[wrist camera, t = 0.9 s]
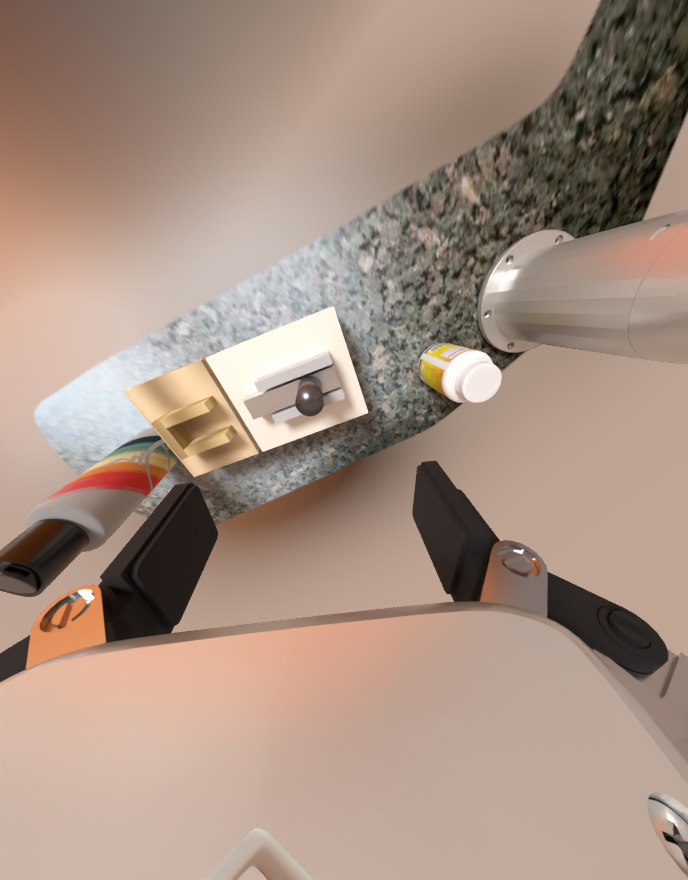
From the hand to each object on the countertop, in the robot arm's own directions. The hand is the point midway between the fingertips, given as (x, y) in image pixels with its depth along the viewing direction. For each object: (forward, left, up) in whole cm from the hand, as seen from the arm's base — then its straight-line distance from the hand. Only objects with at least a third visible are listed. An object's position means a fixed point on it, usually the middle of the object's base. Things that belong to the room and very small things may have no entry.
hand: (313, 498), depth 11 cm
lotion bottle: (+23, +2, -24) cm, 34 cm away
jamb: (+14, 0, -24) cm, 28 cm away
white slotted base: (+2, 0, -24) cm, 24 cm away
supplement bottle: (-16, +5, -24) cm, 29 cm away
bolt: (+2, 0, -19) cm, 19 cm away
